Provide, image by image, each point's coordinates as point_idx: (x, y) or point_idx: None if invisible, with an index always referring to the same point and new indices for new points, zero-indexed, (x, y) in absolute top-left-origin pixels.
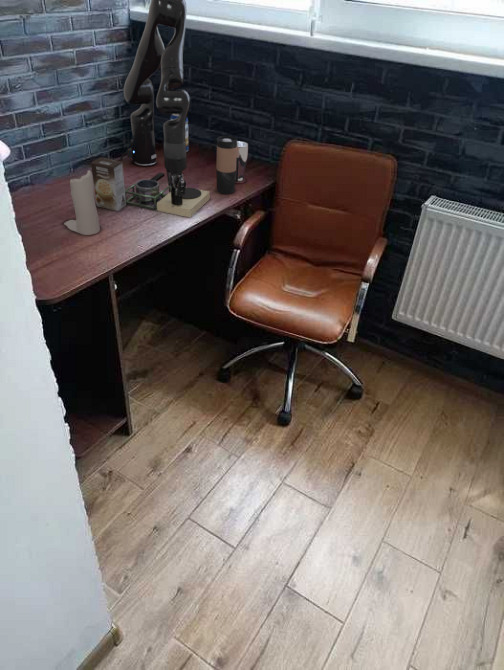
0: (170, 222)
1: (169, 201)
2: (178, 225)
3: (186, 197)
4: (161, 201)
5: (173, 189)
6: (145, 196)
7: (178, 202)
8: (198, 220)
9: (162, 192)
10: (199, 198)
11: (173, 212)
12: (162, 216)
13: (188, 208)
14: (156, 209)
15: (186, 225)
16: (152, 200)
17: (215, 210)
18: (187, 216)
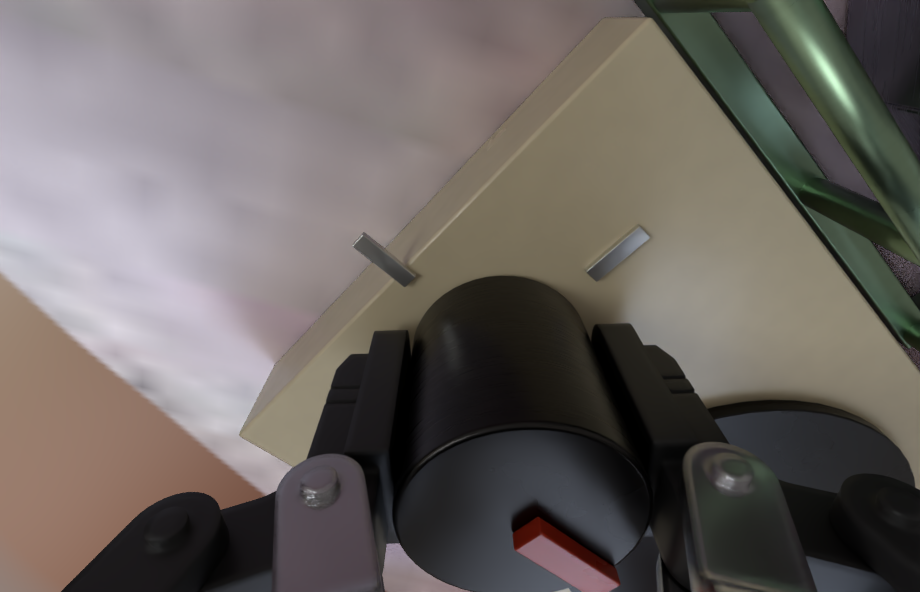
0: (151, 98)
1: (592, 266)
2: (53, 179)
3: None
4: (668, 134)
5: (630, 494)
6: None
7: (336, 382)
8: (196, 415)
9: (913, 250)
10: None
11: (409, 228)
12: (377, 38)
13: (278, 430)
14: (644, 13)
15: (60, 272)
16: (910, 6)
17: (393, 573)
18: (292, 349)
